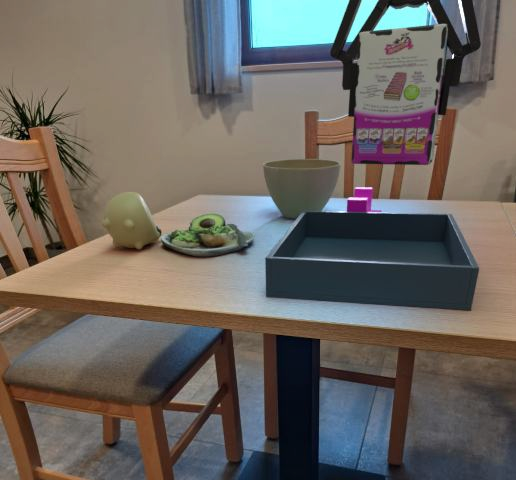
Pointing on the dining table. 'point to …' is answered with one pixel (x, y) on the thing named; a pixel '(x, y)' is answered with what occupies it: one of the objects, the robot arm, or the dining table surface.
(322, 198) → the flower pot
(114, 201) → the toy pig
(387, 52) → the candy bar box
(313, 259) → the bin
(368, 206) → the toy block
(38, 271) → the dining table surface
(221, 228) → the salad plate
